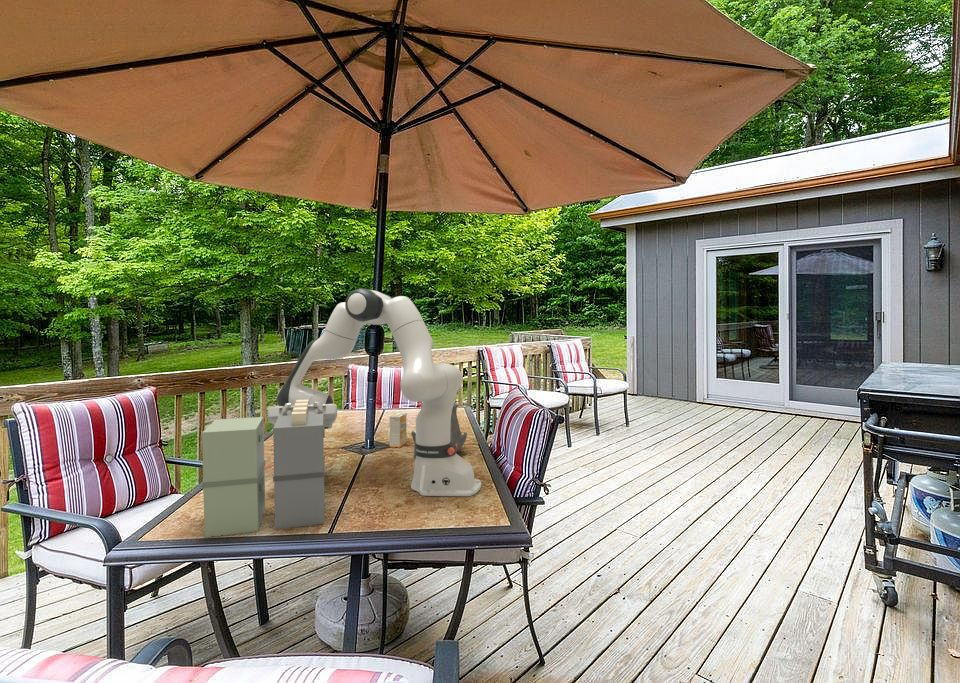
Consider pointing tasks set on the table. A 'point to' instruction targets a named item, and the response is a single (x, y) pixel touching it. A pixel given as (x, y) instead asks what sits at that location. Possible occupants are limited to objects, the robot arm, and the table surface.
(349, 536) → the table surface
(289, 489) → the grey crate stack
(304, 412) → the wooden bar
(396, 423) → the supplement box
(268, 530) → the table surface
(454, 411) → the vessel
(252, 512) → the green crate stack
